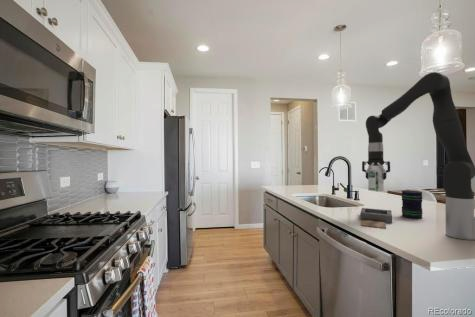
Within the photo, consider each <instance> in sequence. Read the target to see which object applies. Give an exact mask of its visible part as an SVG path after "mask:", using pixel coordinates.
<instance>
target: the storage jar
mask: <svg viewBox="0 0 475 317" xmlns="http://www.w3.org/2000/svg"><path fill="white" fill-rule="evenodd" d="M401 202H402V204H401V205H402V206H401V217H403V218H405V219H412V220H422V219H423V206H422V205H423V204H422V203H423V191H419V190H404V189H403V190H401Z"/></svg>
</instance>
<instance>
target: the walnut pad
mask: <svg viewBox="0 0 475 317" xmlns="http://www.w3.org/2000/svg"><path fill="white" fill-rule="evenodd" d="M360 226H361V227H369V228H375V229H383V230H386V229H387V223H386V222H378V221H369V220H361V223H360Z"/></svg>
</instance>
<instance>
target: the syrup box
mask: <svg viewBox="0 0 475 317" xmlns="http://www.w3.org/2000/svg"><path fill="white" fill-rule="evenodd" d="M367 166H368V167H367V169H368V168H369V165H367ZM382 167H383V168H384V165H382ZM382 167H381V168H382ZM381 168H380V166H371V169H370V170H369V171H368V179H367V180H368V181H367V184H368V185H367V186H368V187H367V189H368V191H371V192H378V193H379V192H384V189H385V188H384V176H383V173H384V172H383V170H382V169H381ZM384 169H385V168H384Z"/></svg>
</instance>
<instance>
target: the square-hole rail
mask: <svg viewBox="0 0 475 317" xmlns="http://www.w3.org/2000/svg"><path fill="white" fill-rule="evenodd" d="M359 214H360V216H359V217H360V218H359V220H361V221H362V220H369V221H378V222H386V224H393V214H392V210H391V209H390V210H389V209H378V208H370V207H369V208H368V207H362V208H361V210H360V212H359Z"/></svg>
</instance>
